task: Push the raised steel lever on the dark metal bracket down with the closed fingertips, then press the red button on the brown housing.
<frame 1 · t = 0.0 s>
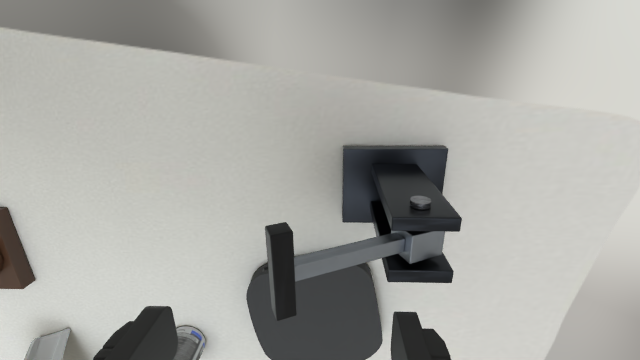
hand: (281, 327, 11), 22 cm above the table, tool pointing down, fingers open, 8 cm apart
pill bottle: (189, 337, 42), on the table
media streaming box: (316, 303, 39), on the table
lever: (359, 252, 21), point 13 cm above the table, hinge at 25.0°
bracket: (390, 183, 33), on the table
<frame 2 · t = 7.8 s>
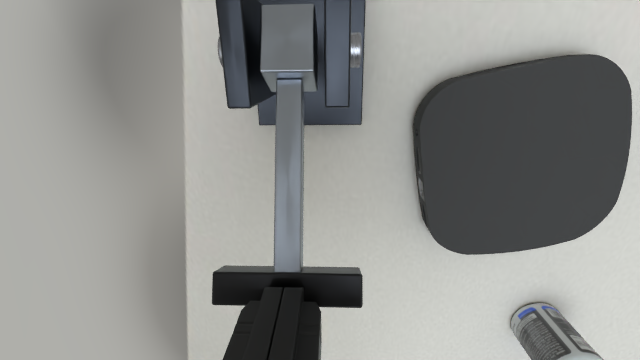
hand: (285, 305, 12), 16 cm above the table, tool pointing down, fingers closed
pill bottle: (532, 318, 32), on the table
media streaming box: (503, 156, 26), on the table
lever: (289, 157, 13), point 13 cm above the table, hinge at 23.7°, touching gripper
bracket: (309, 56, 24), on the table
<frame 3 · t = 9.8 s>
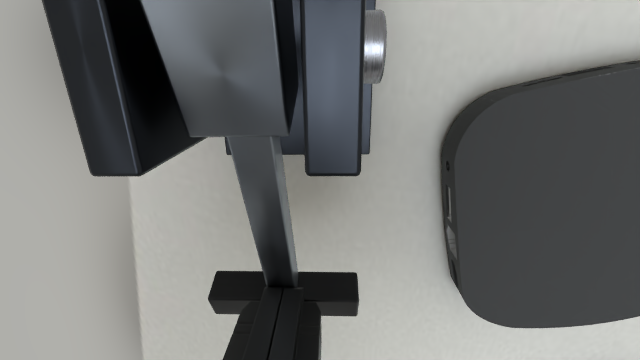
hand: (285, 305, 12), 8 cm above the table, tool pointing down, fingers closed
media streaming box: (563, 195, 19), on the table
lever: (268, 204, 10), point 9 cm above the table, hinge at -21.4°, touching gripper
bracket: (295, 59, 17), on the table
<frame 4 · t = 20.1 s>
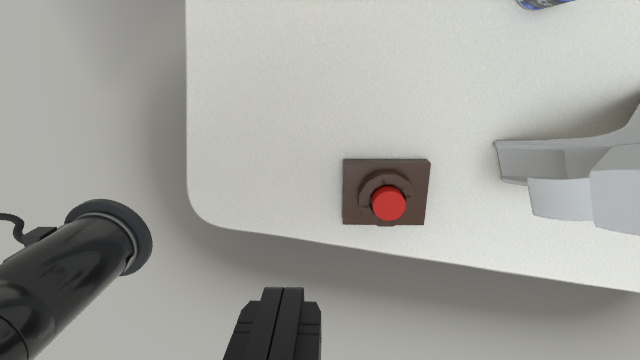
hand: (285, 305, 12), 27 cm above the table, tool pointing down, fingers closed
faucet: (579, 133, 36), on the table
button box: (382, 190, 39), on the table
button: (388, 203, 36), point 4 cm above the table, slide at 0.1 cm
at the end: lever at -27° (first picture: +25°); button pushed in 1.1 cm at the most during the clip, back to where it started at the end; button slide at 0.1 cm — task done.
